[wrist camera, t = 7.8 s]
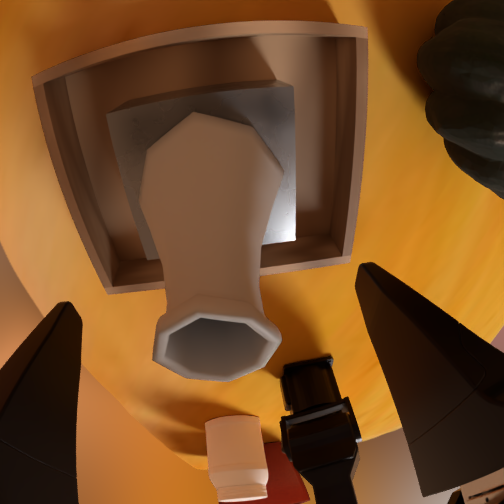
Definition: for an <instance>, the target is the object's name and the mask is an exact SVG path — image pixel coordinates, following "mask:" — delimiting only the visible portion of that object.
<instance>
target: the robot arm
mask: <svg viewBox="0 0 504 504" xmlns="http://www.w3.org/2000/svg"><path fill="white" fill-rule="evenodd" d="M355 290H356V293H357V297H358V300H359V303H360V307H361V310H362V314H363V317H364V321H365V324H366V328H367V331H368V334H369V336H370V339H371V342H372V344H373V347H374V349H375V352H376V354H377V357H378V359H379V362H380V365H381V367H382V370H383V373H384V375H385V378H386V381H387V383H388V386H389V389H390V392H391V395H392V397H393V400H394V403H395V406H396V409H397V412H398V415H399V418H400V421H401V424H402V427H403V430H404V433H405V436H406V440H407V442H408V444H409V445H408V446H409V450H410V453H411V456H412V460H413V463H414V467H415V470H416V474H417V477H418V481H419V485H420V489H421V493H422V496H423V497H426V496H429V495H433V494H437V493H440V492H443V491H446V490H449V489H452V488H455V487H458V486H460V489H458V490H456V491H455V492H453V493H452V495H451V497H450V499H449V501H448V504H504V353H503V352H501V351H500V350H498V349H497V348H495V347H493V346H492V345H491V344H489V343H488V342H486V341H485V340H483V339H482V338H480V337H479V336H477V335H476V334H475V333H473V332H472V331H470V330H469V329H468V328H466V327H465V326H464V325H462V324H461V323H459V322H458V321H457V320H456V319H454V318H453V317H451V316H450V315H449V314H447V313H446V312H445V311H443V310H442V309H440V308H439V307H438V306H436V305H435V304H434V303H432V302H431V301H429V300H428V299H426V298H425V297H424V296H422V295H421V294H419V293H418V292H417V291H415V290H414V289H412V288H411V287H409V286H408V285H406V284H405V283H403V282H402V281H401V280H399V279H398V278H396V277H395V276H393V275H392V274H390V273H389V272H387V271H386V270H384V269H383V268H381V267H380V266H378V265H377V264H375V263H373V262H367V263H362V264H360V265H359V268H358V272H357V277H356V282H355ZM82 327H83V324H82V319H81V317H80V315H79V314H78V312H77V311H76V309H75V308H74V306H73V304H72V303H71V302H69V301H66V302H59V303H58V304H57V305H56V306H55V307H54V308H53V309H52V310H51V311H50V312H49V313H48V314H47V316H46V317H45V318H44V319H43V320H42V321H41V322H40V323H39V324H38V325H37V327H36V328H35V329H34V330H33V331H32V332H31V333H30V335H29V336H28V337H27V338H26V339H25V340H24V341H23V343H22V344H21V345H20V346H19V347H18V349H17V350H16V351H15V352H14V353H13V355H12V356H11V357H10V358H9V359H8V361H7V362H6V363H5V365H4V366H3V367H2V368H1V369H0V504H79V503H78V489H77V478H76V477H77V473H76V422H77V404H78V403H77V402H78V391H79V380H80V370H81V347H82ZM332 364H333V357H326V358H321V359H316V360H311V361H306V362H300V363H295V364H289V365H285V366H284V367H283V376H281V378H280V388H281V392H282V397H283V402H284V407H285V410H286V411H290V414H291V415H288V416H282V417H281V421H280V428H281V451H282V452H283V453H285V454H286V456H287V457H288V459H289V461H290V462H293V466H294V468H295V469H296V470H297V471H298V472H299V473H300V474H301V475H302V476H303V477H304V478H305V479H306V480H307V481H308V482H309V483H310V484H311V485H312V486H313V489H314V495H315V500H316V504H358V502H357V498H356V494H355V490H354V486H353V482H352V480H353V477H354V475H355V472H356V469H357V466H358V463H359V461H360V456H359V451H358V446H357V443H359V442H361V441H362V438H361V434H360V430H359V427H358V424H357V421H356V418H355V415H354V412H353V409H352V406H351V403H350V400H349V398H348V397H345V398H344V399H342V398H341V395H340V392H339V389H338V385H337V382H336V379H335V376H334V373H333V370H332Z"/></svg>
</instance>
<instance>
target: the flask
mask: <svg viewBox="0 0 504 504" xmlns="http://www.w3.org/2000/svg"><path fill="white" fill-rule="evenodd" d="M283 175H284V169H283V168H282V166H281V165H280V164H279V162H278V161H277V159H276V158H275V157H274V155H273V154H272V152H271V151H270V150H269V148H268V147H267V145H266V144H265V143H264V141H263V140H262V139H261V137H260V136H259V135H258V133H257V132H256V130H255V129H254V128H253V127H251V126H248V125H244V124H241V123H237V122H233V121H230V120H226V119H222V118H218V117H214V116H210V115H205V114H201V113H197V112H192V113H191V114H190V115H189V116H187V117H186V118H185V119H183V120H182V121H181V122H180V123H178V124H177V125H176V126H175V127H173V128H172V129H171V130H170V131H169V132H167V133H166V134H165V135H164V136H162V137H161V138H160V139H159V140H158V141H157V142H155V143H154V144H153V145H152V146H151V147H150V148H148V149H147V154H146V159H145V165H144V170H143V176H142V182H141V188H140V194H139V203H140V207H141V209H142V212H143V214H144V217H145V219H146V222H147V224H148V226H149V229H150V231H151V234H152V237H153V240H154V243H155V246H156V249H157V252H158V255H159V257H160V260H161V263H162V266H163V273H164V282H165V290H166V298H167V311H166V313H165V314H164V315H162V316H161V317H160V318H159V320H158V322H157V325H156V332H155V339H154V346H153V358H152V360H153V361H155V362H156V363H158V364H160V365H162V366H164V367H166V368H167V369H169V370H171V371H173V372H175V373H177V374H179V375H181V376H183V377H185V378H189V379H199V380H210V381H222V382H230V381H232V380H234V379H237V378H239V377H242V376H244V375H246V374H249V373H251V372H253V371H256V370H258V369H260V368H263V367H265V365H266V364H267V362H268V361H269V359H270V358H271V356H272V355H273V353H274V352H275V351H276V349H277V348H278V346H279V345H280V343H281V342H282V337H281V333H280V331H279V329H278V327H277V326H276V325H275V324H273V323H272V322H271V321H270V320H269V319H268V318H267V317H265V315H264V311H263V305H262V300H261V294H260V289H259V278H260V259H261V246H262V242H263V239H264V235H265V232H266V228H267V225H268V221H269V218H270V214H271V211H272V207H273V204H274V201H275V198H276V196H277V193H278V190H279V187H280V184H281V181H282V178H283Z"/></svg>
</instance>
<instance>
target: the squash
mask: <svg viewBox="0 0 504 504" xmlns="http://www.w3.org/2000/svg"><path fill="white" fill-rule="evenodd" d="M417 65H418V68H419V70H420V72H421V74H422V76H423V78H424V80H425V81H426V82H427V84H428V85H429V86H430V87H431V88H432V89H433V90H434V92H432V93H431V95H430V96H429V98H428V100H427V102H426V106H425V112H426V118H427V121H428V122H429V124H430V125H431V126H432V127H433V129H434V130H435V131H436V132H437V133H438V134H440V135H441V136H442V137H444V145H445V148H446V150H447V153H448V154H449V156H450V158H451V159H452V161H453V162H454V163H455V164H456V165H457V166H458V167H459V168H460V169H461V170H462V171H463V172H465V173H466V174H468V175H469V176H471V177H472V178H473V179H474V180H475V181H477V182H478V183H480V184H482V185H483V186H485V187H486V188H489V189H490V190H492V191H493V192H494V193H495V194H497V195H498V196H499V197H500V198H502V199H504V0H453V1H452V2H450V3H449V4H448V5H446V6H445V7H444V9H443V10H442V11H441V12H440V14H439V15H438V17H437V19H436V23H435V36H434V37H433V38H432V39H430V40H428V41H427V42H425V43H424V44H423V45H422V46H421V48H420V49H419V52H418V55H417Z"/></svg>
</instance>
